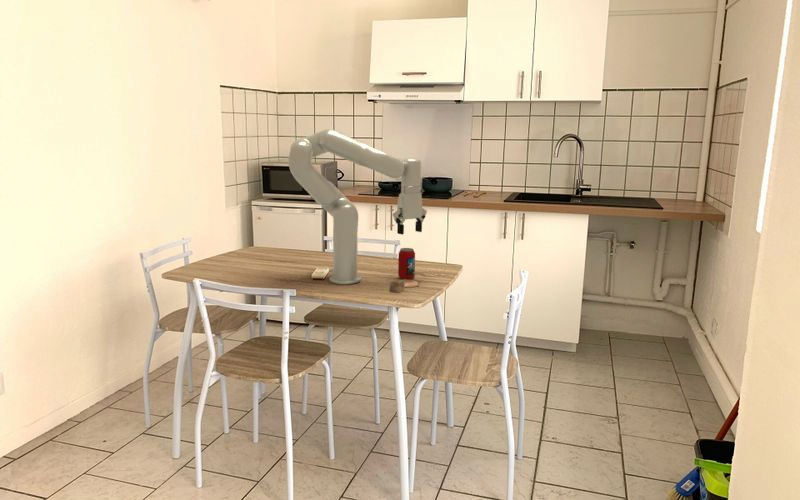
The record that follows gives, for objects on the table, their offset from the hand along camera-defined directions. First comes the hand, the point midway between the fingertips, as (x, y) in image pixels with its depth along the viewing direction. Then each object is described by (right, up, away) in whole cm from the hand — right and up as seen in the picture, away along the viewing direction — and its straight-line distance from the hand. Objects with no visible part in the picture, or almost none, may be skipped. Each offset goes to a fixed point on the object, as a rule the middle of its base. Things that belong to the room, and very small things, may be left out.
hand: (409, 232), depth 238 cm
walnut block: (-5, -22, -15) cm, 27 cm away
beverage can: (-1, -19, +5) cm, 19 cm away
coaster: (-2, -20, -5) cm, 21 cm away
